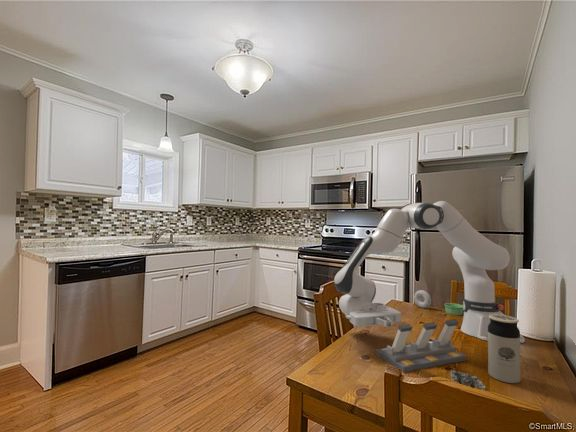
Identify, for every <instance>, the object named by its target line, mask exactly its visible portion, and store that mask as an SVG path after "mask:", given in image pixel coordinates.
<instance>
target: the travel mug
mask: <svg viewBox="0 0 576 432" xmlns="http://www.w3.org/2000/svg"><path fill="white" fill-rule="evenodd" d="M489 318H490V323H489V325H488V341H487V371H488V372H487V374H488V375H489V376H491V377H492V378H493V379H495V380H497V381H499V382H502V383H507V384H518V383H520V382H521V343H520V334H521V332H520V328H519V327H518V323H519V321H520V320H519V319H518V318H516V317H515V316H514V317H513V316H510V315H505V314H504V315H499V314H492V315H489Z"/></svg>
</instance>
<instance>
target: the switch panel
mask: <svg viewBox="0 0 576 432" xmlns="http://www.w3.org/2000/svg"><path fill="white" fill-rule="evenodd" d="M415 343H416V342H413V341H410V344H405V346H404V349H403V351H400V352H394V348H392V346H390V345H386V347H385V348H384V347H383V348H378V349H375V355H377V356H378V357H379V358H380V359H382V360H384V361H386V362H387V363H389V364H390V365H391V366H393V367H395V368H396V367H397V368H396V369H398V368H399V369H401V370H402V371H401V370H400V371H401V372H402V373H406V372H411V371H417V370H423V369H425V368H426V369H427V368H433V367H438V366H442V365H443V366H444V365H447V364H448V365H449V364H453V363H458V362H464V361H467V360H468V358H467V357H468V355H466V354H464V353H462V352H460V351H457V347H456V346H453V345H452V339H451V338H450V339H449V341H448V343H447V344H444V345H440V341H438V339H435V338H432V341H431V340H429V341H428V343H427V345H426V347H425V348H419V349H417V344H415ZM399 369H398V370H399Z"/></svg>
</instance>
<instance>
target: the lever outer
mask: <svg viewBox="0 0 576 432" xmlns="http://www.w3.org/2000/svg"><path fill="white" fill-rule="evenodd" d="M412 330H413V326H412V325H411V324H410V323H405V324H399V325H398V327H397V332H396V334H395V337H394V340H393V343H392V346H391V347H392V348H394V352H400V351H403V349H404V346H405V345H406V344H407V341H408V338H409V335H410V332H411V331H412Z"/></svg>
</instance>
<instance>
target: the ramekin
mask: <svg viewBox="0 0 576 432" xmlns="http://www.w3.org/2000/svg"><path fill="white" fill-rule="evenodd" d="M444 309H445V310H444V311H446V312H445V313H446V314H448V313H449V314H448V315H451V314H452V316H463V315H464V310H463V304H460V303H454V302H446V303H444Z"/></svg>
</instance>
